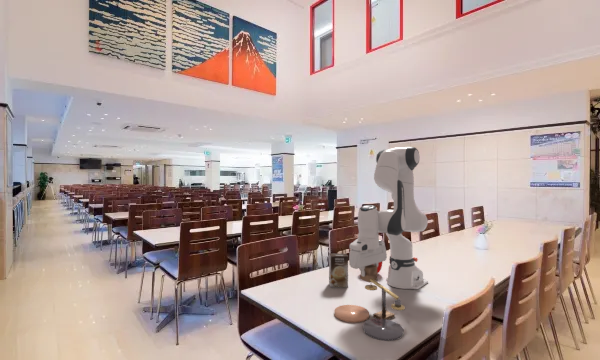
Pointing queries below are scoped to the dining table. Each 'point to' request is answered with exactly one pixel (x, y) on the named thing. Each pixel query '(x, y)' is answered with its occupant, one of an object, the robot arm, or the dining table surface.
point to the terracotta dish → (351, 313)
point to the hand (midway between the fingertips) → (369, 274)
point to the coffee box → (338, 270)
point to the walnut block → (370, 273)
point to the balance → (384, 313)
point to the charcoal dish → (383, 329)
